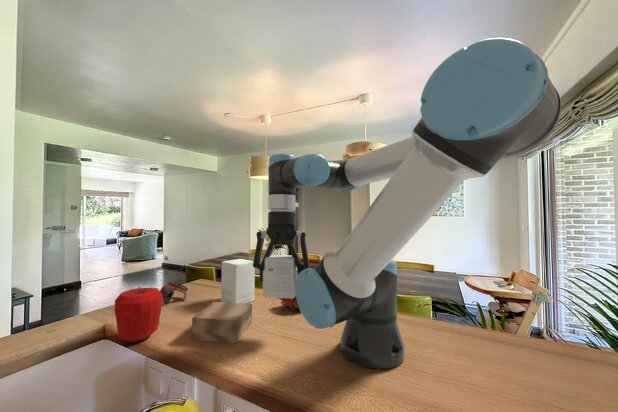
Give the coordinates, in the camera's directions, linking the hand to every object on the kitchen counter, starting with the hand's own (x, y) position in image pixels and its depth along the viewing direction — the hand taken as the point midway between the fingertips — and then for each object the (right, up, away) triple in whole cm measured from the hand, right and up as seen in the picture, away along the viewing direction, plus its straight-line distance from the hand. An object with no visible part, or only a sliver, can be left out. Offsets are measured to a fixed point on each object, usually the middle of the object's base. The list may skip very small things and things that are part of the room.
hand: (281, 293), depth 70 cm
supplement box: (-19, -12, +25) cm, 34 cm away
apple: (-37, -11, -3) cm, 39 cm away
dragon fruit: (+3, -12, +19) cm, 22 cm away
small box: (0, -1, 0) cm, 1 cm away
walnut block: (-16, -11, +2) cm, 20 cm away
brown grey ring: (-43, -11, +24) cm, 51 cm away
